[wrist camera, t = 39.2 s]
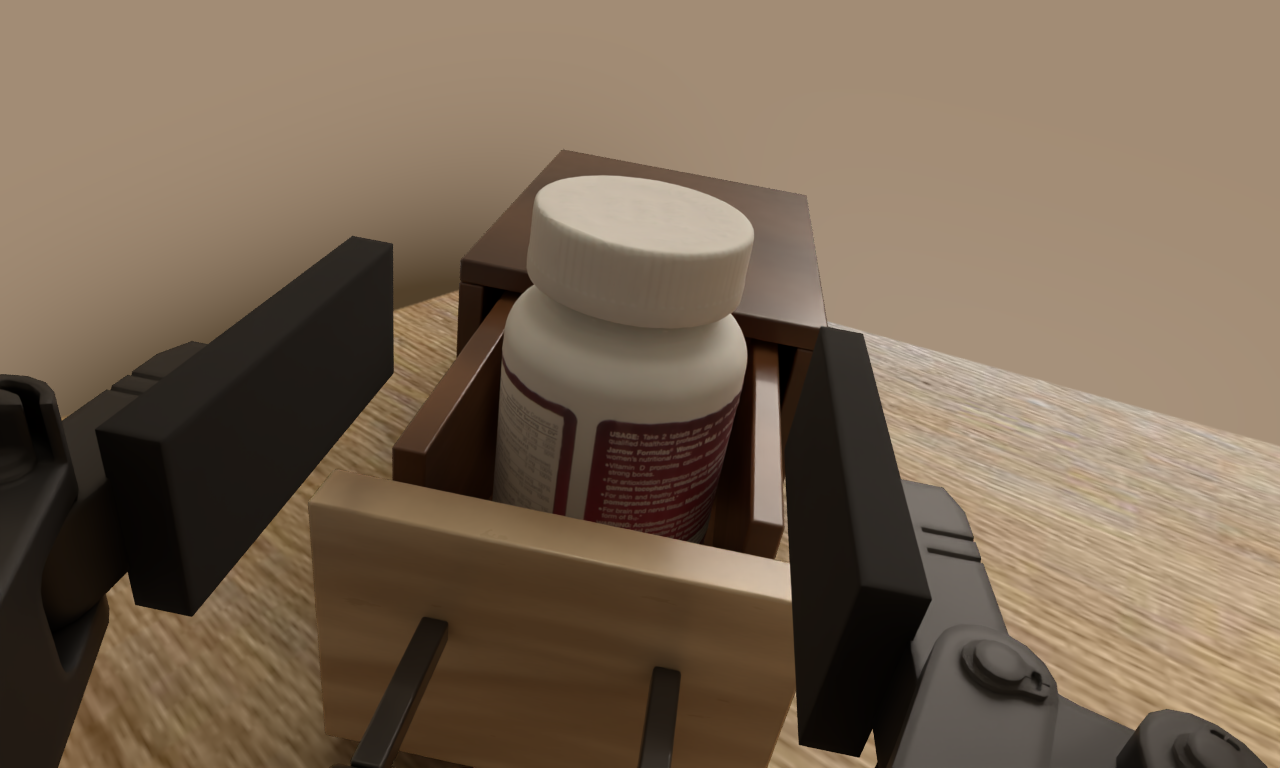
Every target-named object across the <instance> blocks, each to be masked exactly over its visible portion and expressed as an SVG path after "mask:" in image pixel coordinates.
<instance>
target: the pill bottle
mask: <svg viewBox="0 0 1280 768" xmlns="http://www.w3.org/2000/svg"><path fill="white" fill-rule="evenodd" d="M753 241H754V229H753V227H752V224H751V223H750V221H749V220H748V219H747V218H746V217H745V215H744V214H742V213H741V212H740V211H739V210H737V209H736V208H734V207H733V206H731V205H729V204H728V203H726V202H724V201H721V200H719V199H717V198H715V197H712V196H710V195H708V194H705V193H702V192H699V191H696V190H693V189H690V188H686V187H682V186H679V185H675V184H670V183H666V182H662V181H656V180H650V179H643V178H633V177H624V176H607V175H599V176H580V177H573V178H566V179H561V180H558V181H555V182H553V183H550V184H548V185H546V186H545V187H543V188H542V189H541V190H539V192H538V193H537V195H536V197H535V201H534V205H533V213H532V224H531V234H530V243H529V247H528V253H527V267H526V268H527V272H528V275H529V277H530V279H531V281H532V282H533V284H534V285H533V286H531V287H530V288H529V289H527V290H526V291H525V292H524V293H523V294H522V295H521V296H520V297H519V298H518V300H517V301H516V302H515V303H514V305H513V307H512V309H511V311H510V313H509V315H508V317H507V320H506V325H505V330H504V339H503V346H502V366H501V383H500V399H499V413H498V428H497V443H496V457H495V471H494V485H493V499H492V501H494V502H499V503H503V504H508V505H513V506H518V507H523V508H528V509H532V510H537V511H542V512H547V513H552V514H557V515H561V516H566V517H571V518H576V519H581V520H585V521H590V522H595V523H600V524H605V525H610V526H614V527H619V528H624V529H629V530H634V531H639V532H643V533H648V534H653V535H658V536H663V537H668V538H672V539H677V540H682V541H687V542H692V543H697V544H701V545H703V544H704V540H705V535H706V532H707V529H708V525H709V520H710V515H711V510H712V506H713V502H714V499H715V494H716V490H717V485H718V481H719V478H720V473H721V469H722V465H723V461H724V457H725V453H726V448H727V445H728V441H729V436H730V433H731V429H732V425H733V420H734V417H735V413H736V408H737V406H738V404H739V399H740V394H741V392H742V387H743V383H744V375H745V371H746V365H747V347H746V342H745V339H744V336H743V333H742V331H741V328H740V327H739V325H738V323H737V321H736V320H735V318H734V317H733V316H732V315H731V313H732V312H733V311H734V310H735V309H736V308H737V307H738V305H739V303H740V301H741V298H742V294H743V290H744V286H745V278H746V273H747V268H748V264H749V260H750V256H751V251H752V246H753Z"/></svg>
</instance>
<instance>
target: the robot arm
mask: <svg viewBox="0 0 1280 768" xmlns="http://www.w3.org/2000/svg"><path fill="white" fill-rule="evenodd" d="M393 373H394V355H393V244H392V243H387V242H381V241H376V240H371V239H365V238H360V237H355V236H352V237H351V238H349V239H348V240H347V241H345V242H344V243H342V244H341V245H340V246H338V247H337V248H336V249H334V250H333V251H332V252H330V253H329V254H328V255H327V256H325V257H324V258H322V259H321V260H320V261H318V262H317V263H316V264H314V265H313V266H312V267H311V268H309V269H308V270H306V271H305V272H304V273H302V274H301V275H300V276H298V277H297V278H296V279H294V280H293V281H292V282H290V283H289V284H288V285H286V286H285V287H284V288H282V289H281V290H280V291H278V292H277V293H276V294H275V295H273V296H272V297H270V298H269V299H268V300H266V301H265V302H264V303H262V304H261V305H260V306H258V307H257V308H256V309H254V310H253V311H252V312H251V313H249V314H248V315H246V316H245V317H244V318H242V319H241V320H240V321H238V322H237V323H236V324H234V325H233V326H232V327H230V328H229V329H228V330H227V331H225V332H224V333H223V334H221V335H220V336H218V337H217V338H216V339H214V340H213V341H212V342H210V343H209V344H204V343H199V342H194V341H191V342H188V343H186V344H183V345H180V346H177V347H175V348H172V349H169V350H167V351H164V352H161V353H159V354H156V355H155V356H154V357H152V358H151V359H149V360H148V361H147V362H145V363H144V364H142V365H141V366H139V367H138V368H137V369H135V370H134V371H132V375H131V376H130V375H127V376H125V377H124V378H123V379H121V380H120V381H118V382H117V383H115V384H114V385H112V388H111V390H105V391H104V392H102V393H101V394H99V395H98V396H97V397H95V398H94V399H92V400H91V401H90V402H88V403H87V404H85V405H84V406H82V407H81V408H80V409H78V410H77V411H75V412H74V413H72V414H71V415H70V416H68V417H67V418H65V419H64V420H62V421H61V417H60V413H59V409H58V405H57V401H56V397H55V394H54V391H53V390H52V389H51V388H50V387H49V386H48V385H47V383H46V382H43V381H40V380H37V379H34V378H31V377H28V376H19V375H6V374H1V375H0V768H58V766H59V763H60V760H61V757H62V754H63V751H64V749H65V746H66V743H67V740H68V737H69V734H70V731H71V729H72V726H73V723H74V720H75V717H76V714H77V711H78V709H79V706H80V703H81V700H82V697H83V694H84V692H85V689H86V686H87V683H88V680H89V677H90V674H91V672H92V669H93V666H94V663H95V660H96V657H97V654H98V652H99V649H100V646H101V643H102V640H103V637H104V634H105V632H106V629H107V626H108V623H109V605H108V601H107V597H106V593H107V592H108V591H109V590H110V589H111V588H112V587H113V586H114V585H115V584H116V583H117V582H118V581H119V580H120V579H121V578H122V577H123V576H124V575H125V574H126V573H127V572H128V575H129V580H130V584H131V588H132V593H133V597H134V601H135V605H139V606H143V607H148V608H153V609H158V610H162V611H167V612H172V613H176V614H181V615H186V616H191V617H192V616H193V615H194V614H195V613H196V612H197V610H198V609H199V608H200V607H201V606H202V604H203V603H204V602H205V601H206V599H207V598H208V597H209V596H210V595H211V593H212V592H213V591H214V590H215V589H216V587H217V586H218V585H219V584H220V583H221V581H222V580H223V579H224V578H225V576H226V575H227V574H228V573H229V572H230V570H231V569H232V568H233V567H234V566H235V564H236V563H237V562H238V561H239V560H240V558H241V557H242V556H243V555H244V553H245V552H246V551H247V550H248V549H249V547H250V546H251V545H252V544H253V543H254V541H255V540H256V539H257V538H258V537H259V535H260V534H261V533H262V532H263V530H264V529H265V528H266V527H267V526H268V524H269V523H270V522H271V521H272V520H273V518H274V517H275V516H276V515H277V514H278V512H279V511H280V510H281V509H282V507H283V506H284V505H285V504H286V503H287V501H288V500H289V499H290V498H291V497H292V495H293V494H294V493H295V492H296V491H297V489H298V488H299V487H300V486H301V484H302V483H303V482H304V481H305V480H306V478H307V477H308V476H309V475H310V474H311V472H312V471H313V470H314V469H315V468H316V466H317V465H318V464H319V463H320V461H321V460H322V459H323V458H324V457H325V455H326V454H327V453H328V452H329V451H330V449H331V448H332V447H333V446H334V445H335V443H336V442H337V441H338V440H339V438H340V437H341V436H342V435H343V434H344V432H345V431H346V430H347V429H348V428H349V426H350V425H351V424H352V423H353V422H354V420H355V419H356V418H357V417H358V415H359V414H360V413H361V412H362V411H363V409H364V408H365V407H366V406H367V405H368V403H369V402H370V401H371V400H372V399H373V397H374V396H375V395H376V394H377V392H378V391H379V390H380V389H381V388H382V386H383V385H384V384H385V383H386V382H387V380H388V379H389V378H390V377H391V376H392V374H393ZM784 457H785V477H786V497H787V517H788V537H789V557H790V577H791V597H792V617H793V637H794V657H795V677H796V697H797V717H798V737H799V745H802V746H807V747H811V748H816V749H821V750H826V751H830V752H835V753H840V754H845V755H849V756H854V757H860V755H861V753H862V751H863V748H864V746H865V744H866V742H867V740H868V738H869V735H870V733H871V731H872V729H873V733H874V740H875V747H876V754H877V761H878V762H877V764H876V766H875V768H1267V766H1266V765H1265V764H1264V763H1263V762H1262V761H1261V760H1260V759H1259V758H1258V757H1257V756H1256V755H1255V754H1254V753H1253V752H1252V751H1251V750H1250V749H1249V748H1248V747H1247V746H1246V745H1245V744H1244V743H1242V742H1241V741H1239V740H1238V739H1236V738H1235V737H1234V736H1232V735H1231V734H1229V733H1228V732H1226V731H1225V730H1223V729H1222V728H1220V727H1219V726H1218V725H1215V724H1213V723H1211V722H1209V721H1206V720H1204V719H1202V718H1200V717H1197V716H1195V715H1193V714H1191V713H1185V712H1180V711H1174V710H1169V709H1165V710H1161V711H1156V712H1151V713H1149V714H1148V715H1147V716H1146V717H1145V719H1144V720H1143V721H1142V722H1141V724H1140V725H1139V726H1138V728H1137V729H1136V730H1135V731H1134V730H1132V729H1130V728H1128V727H1126V726H1123V725H1121V724H1119V723H1117V722H1114V721H1112V720H1110V719H1108V718H1106V717H1103V716H1101V715H1099V714H1097V713H1095V712H1092V711H1090V710H1088V709H1086V708H1084V707H1081V706H1079V705H1077V704H1076V703H1074V702H1072V701H1070V700H1068V699H1066V698H1064V697H1063V696H1061V695H1059V694H1058V691H1057V684H1056V682H1055V680H1054V678H1053V677H1052V675H1051V673H1050V672H1049V670H1048V668H1047V667H1046V665H1045V663H1044V662H1042V661H1041V660H1040V659H1039V658H1038V657H1037V656H1036V655H1035V654H1034V653H1033V652H1032V651H1031V650H1030V649H1029V648H1028V647H1027V646H1025V645H1024V644H1022V643H1020V642H1019V641H1017V640H1015V639H1014V638H1012V637H1011V636H1009V635H1008V632H1007V629H1006V626H1005V624H1004V621H1003V618H1002V615H1001V612H1000V609H999V607H998V604H997V601H996V598H995V595H994V593H993V590H992V587H991V584H990V581H989V579H988V576H987V573H986V570H985V567H984V565H983V563H981V556H980V553H979V550H978V548H977V545H976V542H973V539H974V536H973V534H972V531H971V528H970V525H969V522H968V520H967V517H966V514H965V512H964V511H963V510H962V508H961V507H960V506H959V505H958V504H957V503H956V502H955V500H954V499H953V498H952V497H951V496H950V495H949V494H948V493H947V491H946V490H945V489H944V488H942V487H937V486H932V485H927V484H922V483H917V482H912V481H907V480H902V479H901V478H900V474H899V470H898V467H897V463H896V459H895V455H894V451H893V447H892V443H891V440H890V436H889V432H888V428H887V424H886V420H885V417H884V413H883V409H882V405H881V401H880V397H879V394H878V390H877V386H876V382H875V378H874V374H873V371H872V367H871V363H870V359H869V355H868V351H867V347H866V344H865V340H864V336H863V334H861V333H856V332H850V331H845V330H840V329H835V328H830V327H824V326H821V327H820V330H819V333H818V337H817V340H816V344H815V347H814V350H813V354H812V357H811V361H810V364H809V367H808V371H807V374H806V378H805V381H804V384H803V388H802V391H801V395H800V398H799V401H798V405H797V408H796V412H795V415H794V418H793V422H792V425H791V429H790V432H789V435H788V439H787V442H786V446H785V449H784Z"/></svg>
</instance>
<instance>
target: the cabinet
mask: <svg viewBox="0 0 1280 768" xmlns="http://www.w3.org/2000/svg"><path fill="white" fill-rule="evenodd" d="M599 175H607V176H624V177H633V178H643V179H650V180H656V181H662V182H666V183H670V184H675V185H679V186H682V187H686V188H690V189H693V190H696V191H699V192H702V193H705V194H708V195H710V196H712V197H715V198H717V199H719V200H721V201H724V202H726V203H728V204H729V205H731V206H733V207H734V208H736V209H737V210H739V211H740V212H741V213H742V214H744V215H745V217H746V218H747V219H748V220H749V221H750V223H751V224H752V227H753V229H754V241H753V246H752V251H751V256H750V260H749V264H748V268H747V273H746V278H745V286H744V290H743V294H742V298H741V301H740V303H739V305H738V307H737V308H736V309H735V310H734V311H733V312H732V313H731V315H732V316H733V317H734V318H735V320H736V321H737V323H738V325H739V327H740V328H741V331H742V333H743V336H744V337H748V338H753V339H758V340H763V341H768V342H773V343H778V360H779V388H780V416H781V445H782V473H783V482H784V479H785V457H784V449H785V446H786V442H787V439H788V435H789V432H790V429H791V425H792V422H793V418H794V415H795V412H796V408H797V405H798V401H799V398H800V395H801V391H802V388H803V384H804V381H805V378H806V374H807V371H808V367H809V364H810V361H811V357H812V354H813V350H814V347H815V344H816V340H817V337H818V333H819V330H820V327H821V326H824V327H828V324H827V318H826V312H825V306H824V300H823V294H822V287H821V281H820V276H819V269H818V263H817V257H816V251H815V245H814V239H813V232H812V226H811V220H810V214H809V208H808V202H807V196H806V195H801V194H796V193H791V192H786V191H780V190H775V189H770V188H764V187H759V186H753V185H748V184H743V183H738V182H732V181H727V180H722V179H716V178H711V177H706V176H700V175H695V174H690V173H685V172H679V171H674V170H669V169H663V168H657V167H652V166H647V165H642V164H636V163H631V162H626V161H621V160H616V159H610V158H604V157H600V156H594V155H589V154H584V153H578V152H573V151H567V150H561V152H560V153H559V154H558V155H557V156H556V157H555V158H554V159H553V160H552V161H551V162H550V163H549V164H548V165H547V167H546V168H545V169H544V170H543V171H542V172H541V173H540V174H539V175H538V176H537V177H536V178H535V180H534V181H533V182H532V183H531V184H530V185H529V186H528V187H527V188H526V189H525V190H524V191H523V193H522V194H521V195H520V196H519V197H518V198H517V199H516V200H515V201H514V202H513V203H512V204H511V205H510V207H509V208H508V209H507V210H506V211H505V212H504V213H503V214H502V215H501V217H499V218H498V220H497V221H496V222H495V223H494V224H493V225H492V226H491V227H490V228H489V229H488V230H487V231H486V233H485V234H484V235H483V236H482V237H481V238H480V239H479V240H478V241H477V242H476V243H475V244H474V246H473V247H472V248H471V249H470V250H469V251H468V252H467V253H466V254H465V255H464V257H462V259H461V263H460V280H461V282H460V283H459V307H458V332H457V357H458V355H459V354H460V353H461V351H462V350H463V349H464V347H465V346H466V344H467V343H468V342H469V340H470V339H471V337H472V336H473V335H474V333H475V332H476V330H477V329H478V328H479V326H480V325H481V324H482V322H483V321H484V319H485V318H486V317H487V315H488V314H489V312H490V311H491V310H492V308H493V307H494V305H495V304H496V303H497V301H498V300H499V298H500V297H501V296H502V294H503V293H504V292H505V290H508V291H513V292H518V293H524V292H525V291H526V290H527V289H529V288H530V287H531V286H533V285H534V284H533V282H532V281H531V279H530V277H529V275H528V272H527V268H526V267H527V253H528V247H529V243H530V234H531V224H532V213H533V205H534V201H535V197H536V195H537V193H538V192H539V190H541V189H542V188H543V187H545V186H546V185H548V184H550V183H553V182H555V181H558V180H561V179H566V178H573V177H580V176H599ZM457 357H456V358H457Z"/></svg>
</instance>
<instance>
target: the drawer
mask: <svg viewBox="0 0 1280 768" xmlns="http://www.w3.org/2000/svg"><path fill="white" fill-rule="evenodd" d="M522 294H523V293H518V292H513V291H508V290H505V292H504V293H503V294H502V296H501V297H500V298H499V300H498V301H497V303H496V304H495V305H494V307H493V308H492V310H491V311H490V312H489V314H488V315H487V317H486V318H485V319H484V321H483V322H482V324H481V325H480V326H479V328H478V329H477V330H476V332H475V333H474V335H473V336H472V337H471V339H470V340H469V342H468V343H467V344H466V346H465V347H464V349H463V350H462V351H461V353H460V354H459V355H458V357H457V358H456V360H455V361H454V362H453V364H452V365H451V367H450V368H449V369H448V371H447V372H446V374H445V375H444V376H443V378H442V379H441V380H440V382H439V383H438V385H437V386H436V387H435V389H434V390H433V392H432V393H431V394H430V396H429V397H428V399H427V400H426V401H425V403H424V404H423V405H422V407H421V408H420V410H419V411H418V412H417V414H416V415H415V417H414V418H413V419H412V421H411V422H410V424H409V425H408V426H407V428H406V429H405V430H404V432H403V433H402V435H401V436H400V437H399V439H398V440H397V442H396V443H395V444H394V446H393V447H392V474H393V481H392V480H388V479H383V478H378V477H373V476H368V475H363V474H359V473H354V472H349V471H344V470H339V469H335V470H333V471H332V473H331V474H330V475H329V476H328V478H327V479H326V480H325V481H324V483H323V484H322V485H321V486H320V488H319V489H318V490H317V491H316V493H315V494H314V495H313V496H312V498H311V499H310V500H309V502H308V510H309V524H310V537H311V551H312V564H313V578H314V591H315V605H316V618H317V632H318V645H319V659H320V672H321V686H322V699H323V713H324V726H325V734H327V735H330V736H334V737H339V738H343V739H348V740H352V741H357V742H360V743H359V745H358V747H357V749H356V751H355V753H354V755H353V757H352V759H351V761H350V766H348V765H343V764H335V765H332V766H331V767H330V768H391V767H392V764H393V762H394V760H395V758H396V755H397V753H398V751H402V752H407V753H411V754H416V755H420V756H425V757H429V758H434V759H438V760H443V761H447V762H452V763H457V764H461V765H466V766H470V767H475V768H767V767H768V764H769V762H770V759H771V756H772V754H773V751H774V748H775V745H776V743H777V740H778V737H779V735H780V732H781V729H782V727H783V724H784V721H785V719H786V716H787V713H788V711H789V708H790V705H791V703H792V700H793V697H794V695H795V692H796V677H795V657H794V637H793V617H792V597H791V577H790V563H788V562H783V561H779V560H775V557H776V554H777V551H778V548H779V544H780V541H781V538H782V535H783V532H784V501H783V473H782V445H781V416H780V388H779V360H778V343H773V342H768V341H763V340H758V339H753V338H748V337H744V339H745V342H746V347H747V365H746V371H745V375H744V383H743V387H742V392H741V394H740V399H739V404H738V406H737V408H736V413H735V417H734V420H733V425H732V429H731V433H730V436H729V441H728V445H727V448H726V453H725V457H724V461H723V465H722V469H721V473H720V478H719V481H718V485H717V490H716V494H715V499H714V502H713V506H712V510H711V515H710V520H709V525H708V529H707V532H706V535H705V540H704V544H703V545H701V544H697V543H692V542H687V541H682V540H677V539H672V538H668V537H663V536H658V535H653V534H648V533H643V532H639V531H634V530H629V529H624V528H619V527H614V526H610V525H605V524H600V523H595V522H590V521H585V520H581V519H576V518H571V517H566V516H561V515H557V514H552V513H547V512H542V511H537V510H532V509H528V508H523V507H518V506H513V505H508V504H503V503H499V502H494V501H492V499H493V485H494V471H495V457H496V443H497V428H498V413H499V399H500V383H501V366H502V346H503V339H504V330H505V325H506V320H507V317H508V315H509V313H510V311H511V309H512V307H513V305H514V303H515V302H516V301H517V300H518V298H519V297H520V296H521V295H522Z"/></svg>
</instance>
